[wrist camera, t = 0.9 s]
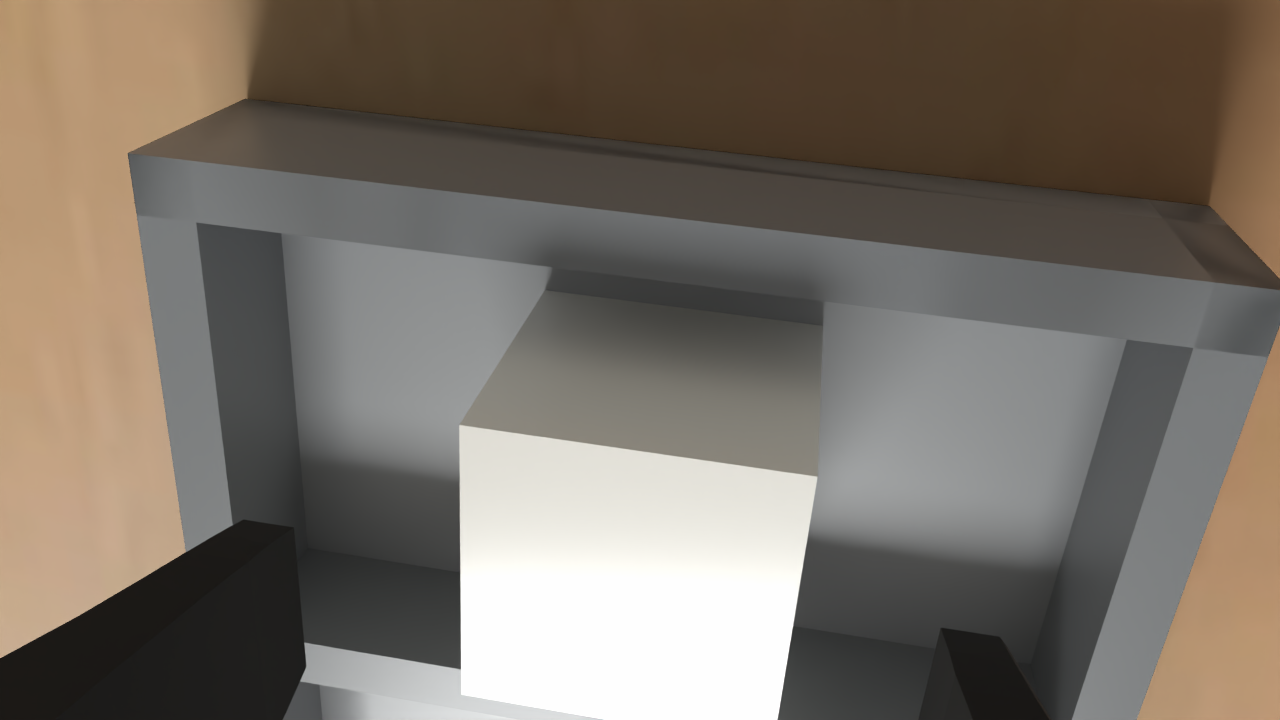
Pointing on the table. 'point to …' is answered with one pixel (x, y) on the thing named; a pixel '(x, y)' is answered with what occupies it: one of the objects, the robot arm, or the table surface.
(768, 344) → the white block
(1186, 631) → the table surface
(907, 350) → the divided tray
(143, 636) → the robot arm
